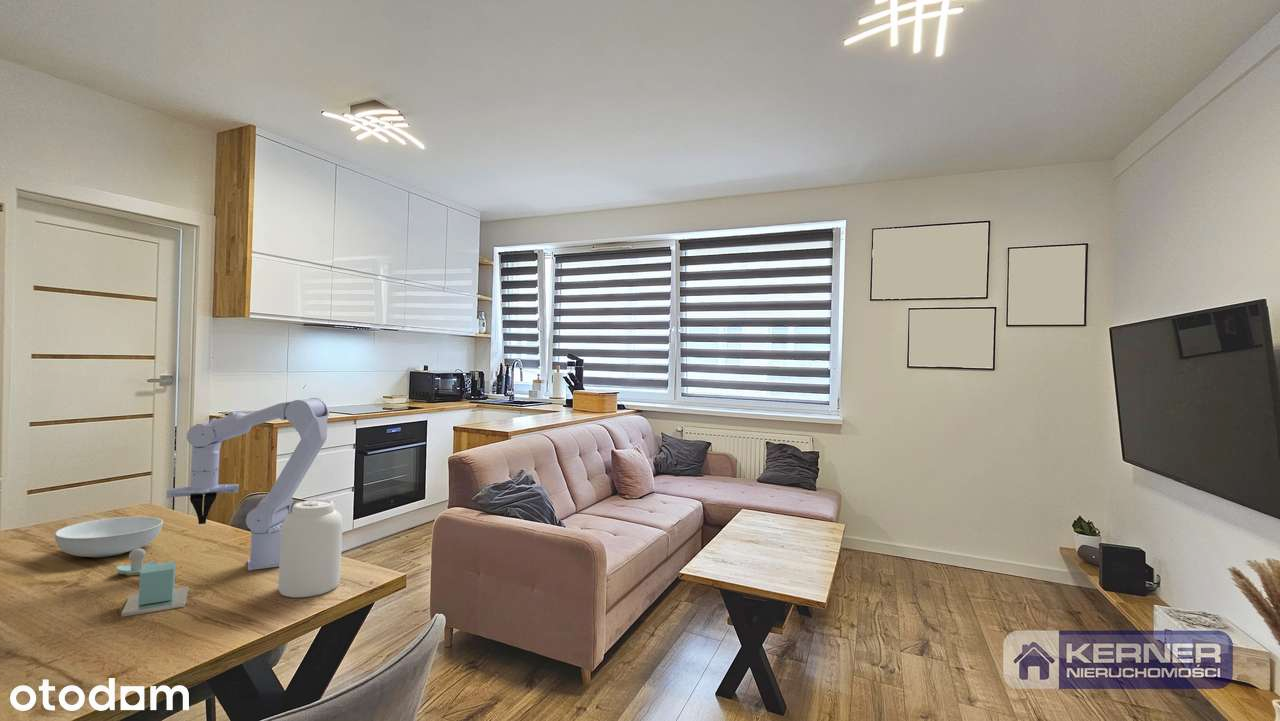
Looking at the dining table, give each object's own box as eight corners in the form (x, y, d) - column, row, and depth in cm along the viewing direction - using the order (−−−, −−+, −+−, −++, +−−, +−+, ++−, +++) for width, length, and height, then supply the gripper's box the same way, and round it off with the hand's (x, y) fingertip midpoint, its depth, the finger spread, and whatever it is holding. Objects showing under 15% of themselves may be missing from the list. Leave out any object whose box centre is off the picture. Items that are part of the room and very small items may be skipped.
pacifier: (116, 572, 137) (115, 579, 132) (117, 546, 137) (116, 552, 132) (156, 566, 142) (156, 573, 137) (157, 541, 142) (157, 547, 137)
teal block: (174, 591, 125) (175, 561, 125) (171, 600, 121) (173, 569, 121) (142, 595, 122) (143, 565, 122) (138, 605, 118) (140, 573, 118)
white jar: (264, 592, 129) (269, 505, 129) (313, 574, 140) (317, 494, 140) (305, 603, 124) (309, 512, 124) (352, 583, 136) (355, 500, 136)
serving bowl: (174, 550, 153) (175, 524, 153) (67, 572, 135) (68, 543, 135) (145, 534, 164) (147, 511, 164) (43, 553, 146) (44, 527, 146)
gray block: (188, 590, 128) (190, 559, 128) (184, 606, 120) (186, 573, 120) (130, 598, 123) (131, 566, 123) (121, 616, 114) (123, 582, 114)
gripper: (166, 475, 137) (163, 530, 137) (239, 470, 145) (236, 523, 145) (169, 469, 143) (166, 523, 143) (239, 466, 151) (237, 516, 151)
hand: (202, 523), depth 145 cm, fingers closed
